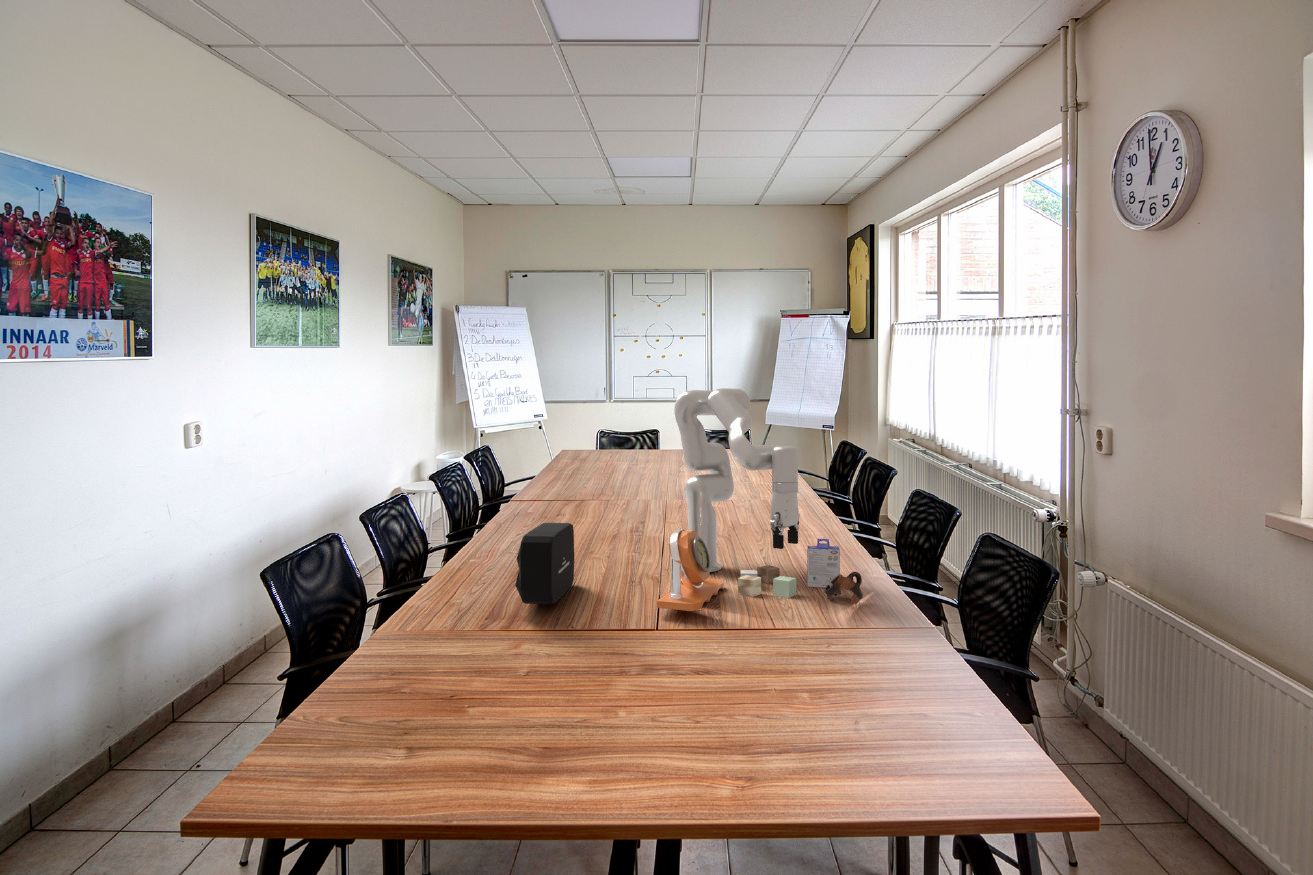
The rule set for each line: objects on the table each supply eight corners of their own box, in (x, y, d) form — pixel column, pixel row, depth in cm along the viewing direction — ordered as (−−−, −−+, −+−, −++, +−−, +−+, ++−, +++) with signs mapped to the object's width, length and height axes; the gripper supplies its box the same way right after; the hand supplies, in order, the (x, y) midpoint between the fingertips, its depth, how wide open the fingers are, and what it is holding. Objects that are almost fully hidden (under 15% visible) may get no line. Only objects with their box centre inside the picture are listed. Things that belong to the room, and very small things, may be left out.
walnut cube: (756, 582, 225) (757, 566, 225) (768, 580, 228) (768, 564, 228) (767, 585, 221) (767, 569, 221) (779, 583, 224) (779, 567, 224)
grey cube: (740, 589, 216) (741, 573, 216) (740, 585, 221) (740, 569, 221) (757, 589, 216) (757, 573, 215) (756, 585, 221) (756, 570, 220)
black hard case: (552, 609, 195) (551, 537, 194) (508, 608, 196) (508, 536, 196) (575, 582, 225) (574, 520, 224) (537, 582, 226) (536, 520, 226)
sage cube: (773, 595, 208) (773, 579, 208) (780, 592, 213) (780, 575, 212) (788, 598, 206) (788, 581, 205) (796, 594, 210) (796, 578, 209)
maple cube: (738, 594, 210) (738, 578, 210) (746, 591, 214) (746, 575, 214) (753, 597, 207) (753, 580, 207) (761, 593, 211) (761, 577, 211)
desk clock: (655, 609, 195) (654, 536, 194) (688, 584, 223) (688, 520, 222) (697, 613, 190) (697, 539, 190) (726, 587, 218) (726, 522, 218)
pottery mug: (851, 612, 196) (830, 590, 197) (837, 616, 205) (816, 596, 206) (876, 581, 201) (854, 561, 202) (861, 587, 209) (840, 567, 211)
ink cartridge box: (839, 584, 222) (839, 538, 221) (840, 588, 216) (840, 541, 216) (807, 583, 224) (807, 537, 223) (807, 587, 218) (807, 540, 218)
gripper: (786, 485, 217) (786, 540, 217) (759, 489, 203) (760, 549, 203) (809, 486, 213) (809, 542, 213) (783, 491, 199) (784, 551, 199)
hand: (785, 545), depth 208 cm, fingers open, 9 cm apart
